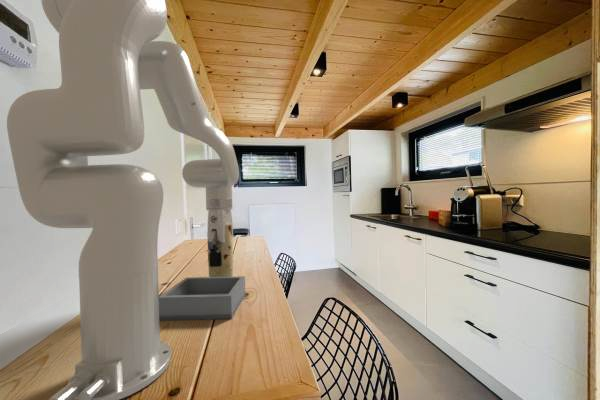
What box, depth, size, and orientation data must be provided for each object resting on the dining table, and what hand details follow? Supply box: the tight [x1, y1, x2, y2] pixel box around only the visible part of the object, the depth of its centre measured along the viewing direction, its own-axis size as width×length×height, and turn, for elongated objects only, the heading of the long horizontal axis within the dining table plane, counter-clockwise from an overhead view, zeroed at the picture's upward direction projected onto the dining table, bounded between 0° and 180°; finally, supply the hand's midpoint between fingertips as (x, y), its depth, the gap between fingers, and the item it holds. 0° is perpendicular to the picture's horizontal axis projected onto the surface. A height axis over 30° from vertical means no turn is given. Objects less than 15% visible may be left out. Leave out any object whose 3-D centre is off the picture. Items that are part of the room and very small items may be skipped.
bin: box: [159, 275, 246, 321], centre depth 58 cm, size 13×16×5 cm
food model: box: [206, 222, 234, 277], centre depth 72 cm, size 10×7×20 cm
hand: (220, 261), depth 72 cm, fingers open, 8 cm apart
